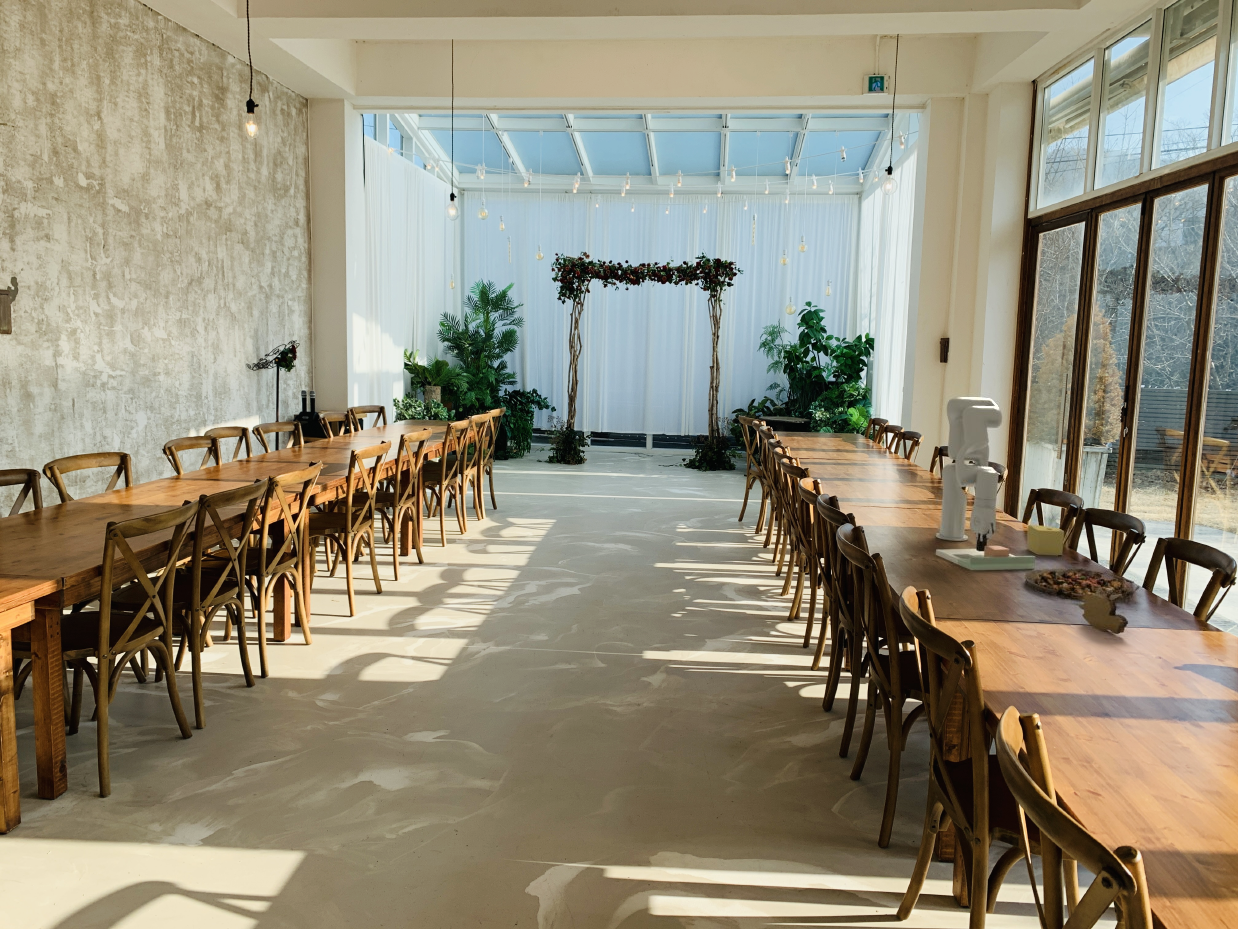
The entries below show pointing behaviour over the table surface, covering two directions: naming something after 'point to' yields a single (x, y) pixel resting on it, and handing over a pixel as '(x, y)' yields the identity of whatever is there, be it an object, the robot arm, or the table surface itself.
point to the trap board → (985, 560)
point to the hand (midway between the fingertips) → (981, 550)
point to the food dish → (1078, 584)
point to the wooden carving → (1102, 613)
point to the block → (996, 551)
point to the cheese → (1045, 540)
